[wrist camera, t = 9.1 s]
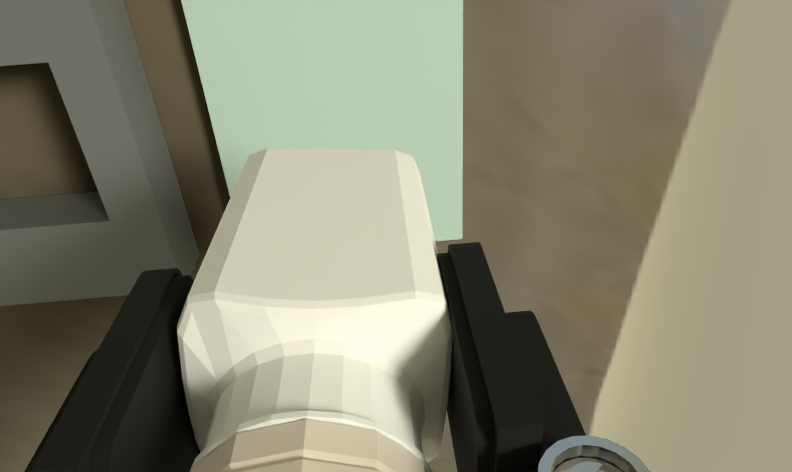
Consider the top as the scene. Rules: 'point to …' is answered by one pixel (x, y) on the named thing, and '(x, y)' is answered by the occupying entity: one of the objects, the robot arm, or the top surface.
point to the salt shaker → (319, 320)
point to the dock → (92, 162)
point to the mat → (338, 83)
